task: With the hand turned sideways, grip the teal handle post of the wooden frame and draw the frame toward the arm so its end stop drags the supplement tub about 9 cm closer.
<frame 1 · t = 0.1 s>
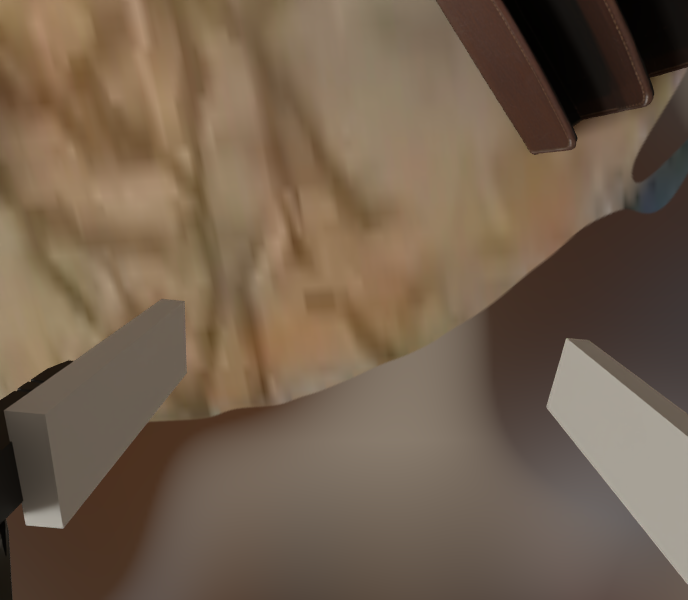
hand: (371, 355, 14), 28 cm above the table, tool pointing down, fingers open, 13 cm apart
letter holder: (520, 22, 35), on the table
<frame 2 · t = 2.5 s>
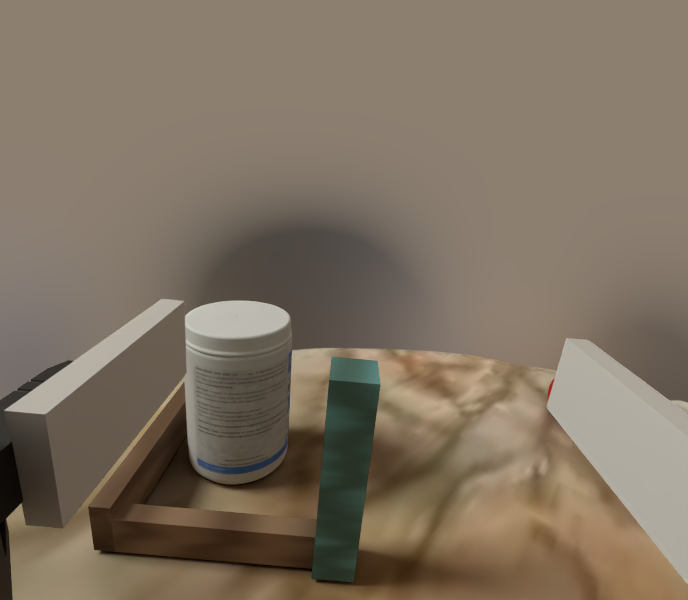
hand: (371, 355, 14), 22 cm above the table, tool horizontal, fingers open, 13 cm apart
supplement tub: (238, 454, 41), on the table
wooden frame: (254, 398, 35), point 8 cm above the table, slide at 0.0 cm
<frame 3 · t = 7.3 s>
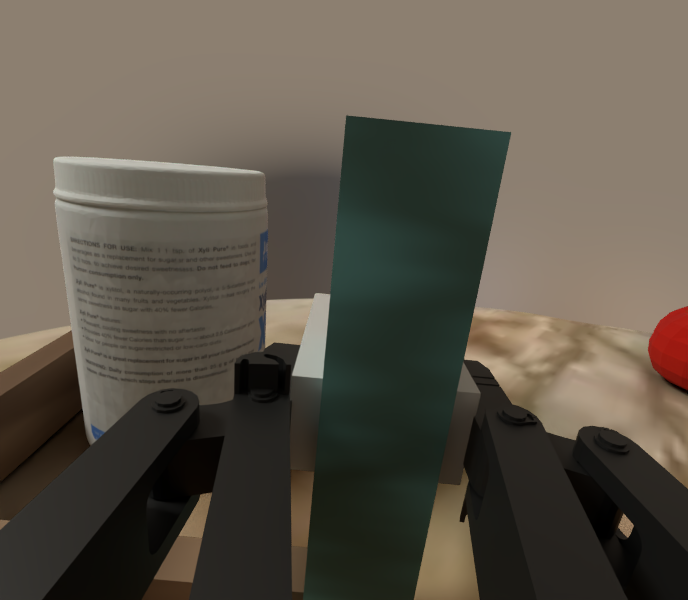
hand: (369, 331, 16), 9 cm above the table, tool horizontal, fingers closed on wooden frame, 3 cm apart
supplement tub: (180, 426, 24), on the table
wooden frame: (194, 312, 19), point 8 cm above the table, slide at 0.0 cm, touching gripper
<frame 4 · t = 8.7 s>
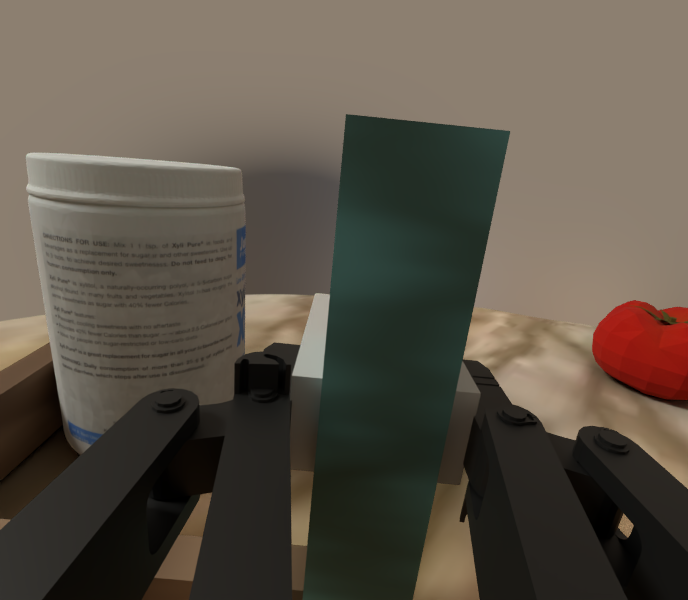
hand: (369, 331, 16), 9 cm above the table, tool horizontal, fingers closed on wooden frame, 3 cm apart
tomato: (647, 382, 36), on the table
supplement tub: (160, 422, 24), on the table, touching wooden frame
wooden frame: (193, 312, 19), point 8 cm above the table, slide at 5.0 cm, touching gripper, supplement tub
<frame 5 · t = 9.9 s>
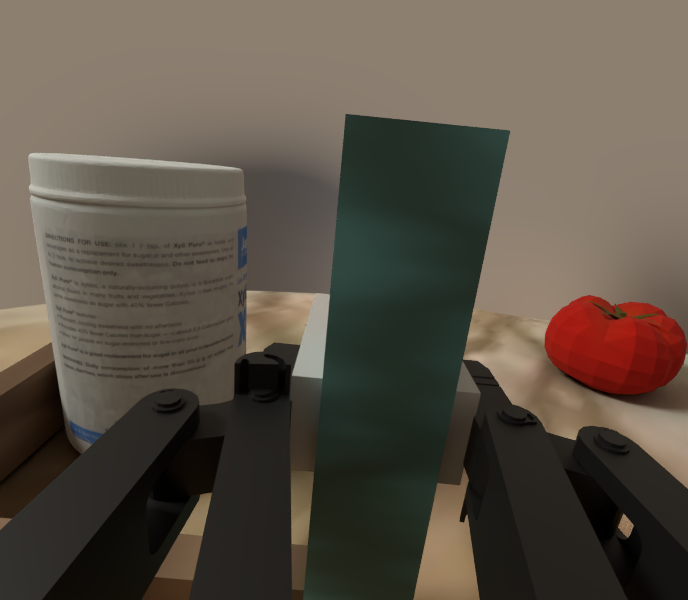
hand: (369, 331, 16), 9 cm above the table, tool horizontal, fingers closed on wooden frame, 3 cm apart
tomato: (600, 378, 36), on the table
supplement tub: (162, 422, 24), on the table, touching wooden frame
wooden frame: (194, 311, 19), point 8 cm above the table, slide at 9.4 cm, touching gripper, supplement tub
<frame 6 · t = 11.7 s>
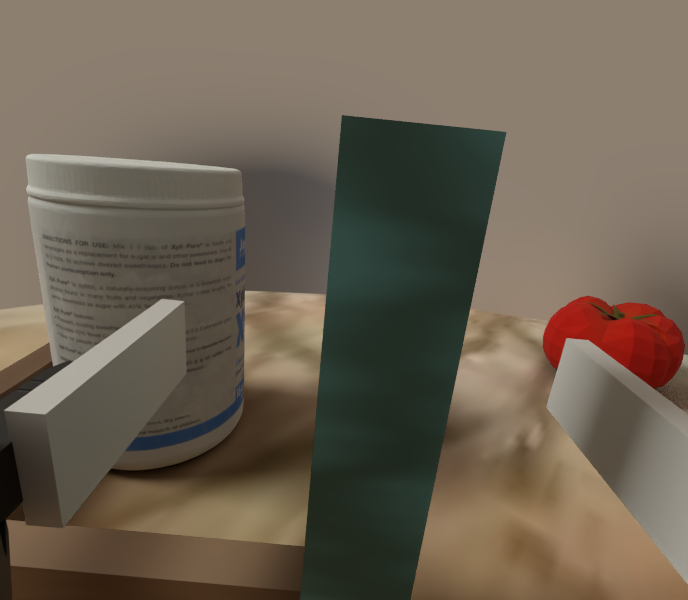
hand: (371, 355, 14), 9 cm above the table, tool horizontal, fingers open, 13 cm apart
tomato: (598, 378, 36), on the table
supplement tub: (160, 423, 24), on the table
wooden frame: (192, 312, 19), point 8 cm above the table, slide at 9.4 cm
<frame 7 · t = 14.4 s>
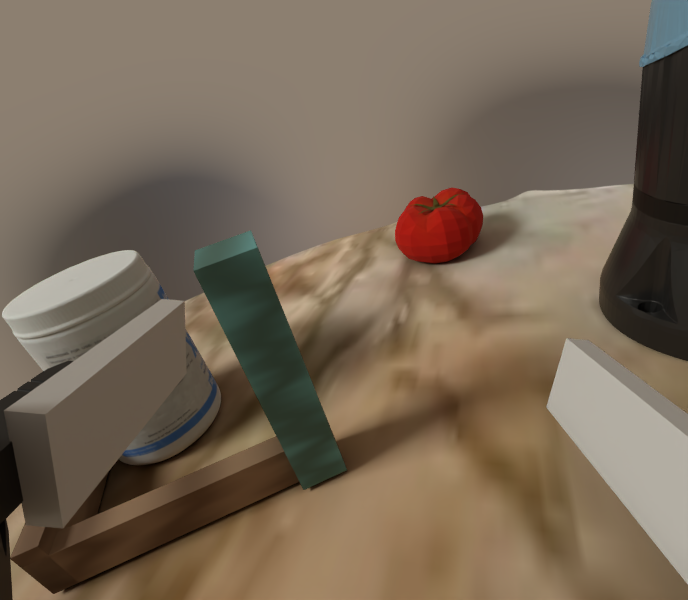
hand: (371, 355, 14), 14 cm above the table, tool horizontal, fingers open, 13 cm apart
tomato: (443, 251, 51), on the table
supplement tub: (172, 425, 36), on the table
wooden frame: (159, 353, 30), point 8 cm above the table, slide at 9.4 cm
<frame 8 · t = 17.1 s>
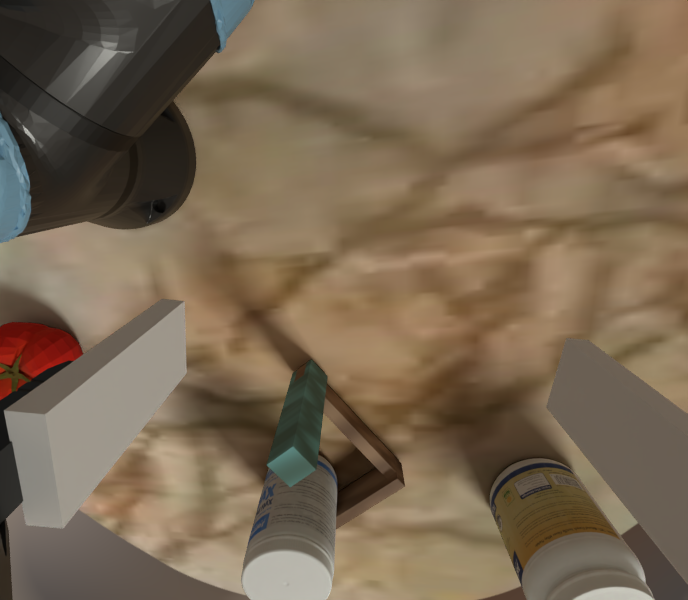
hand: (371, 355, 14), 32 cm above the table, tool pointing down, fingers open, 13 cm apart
tomato: (50, 351, 50), on the table
supplement tub: (302, 476, 55), on the table
wooden frame: (295, 499, 46), point 8 cm above the table, slide at 9.4 cm
supplement tub 2: (531, 490, 55), on the table
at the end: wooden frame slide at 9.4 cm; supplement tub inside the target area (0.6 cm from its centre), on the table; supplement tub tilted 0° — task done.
